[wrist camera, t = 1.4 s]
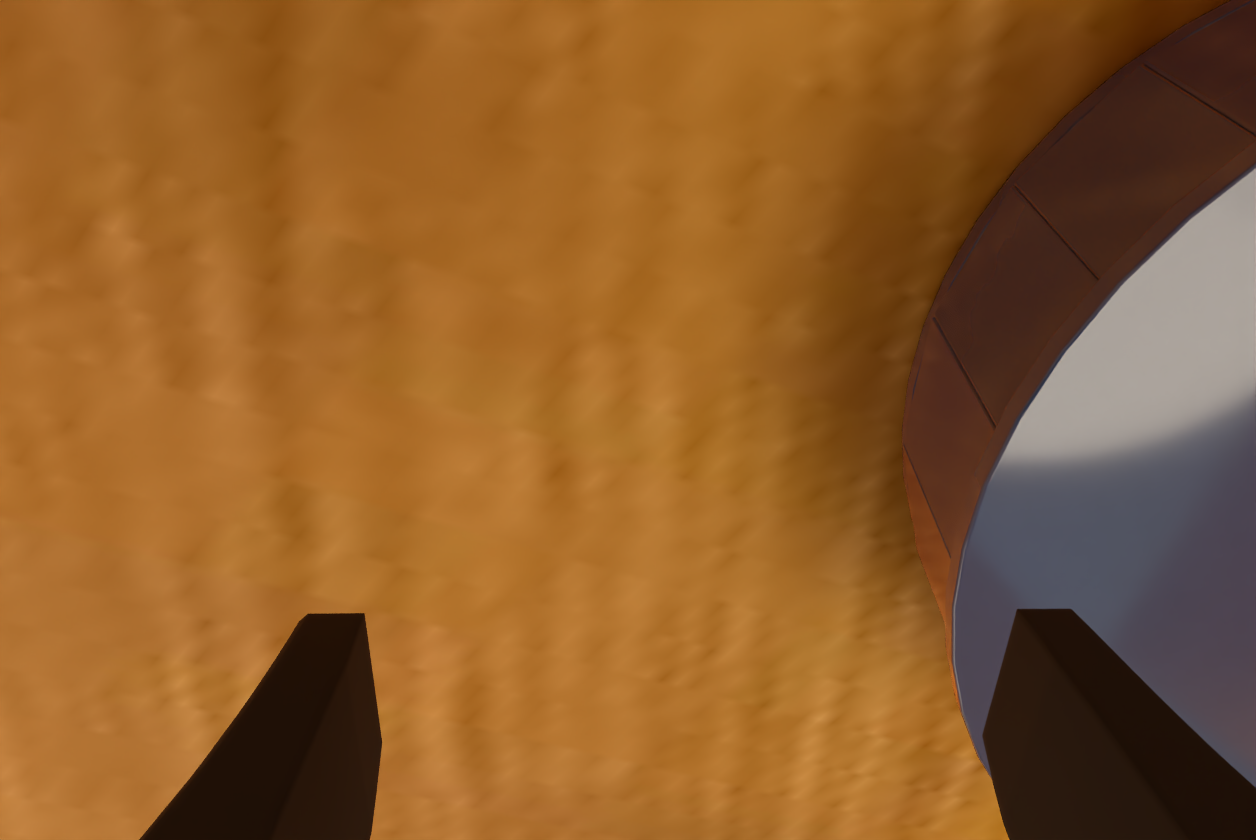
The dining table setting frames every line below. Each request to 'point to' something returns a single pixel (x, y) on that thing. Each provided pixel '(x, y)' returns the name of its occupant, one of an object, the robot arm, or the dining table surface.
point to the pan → (1064, 247)
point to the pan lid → (1133, 478)
